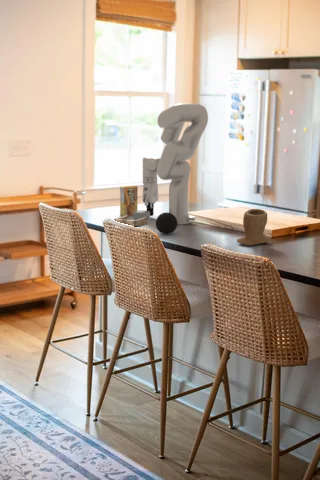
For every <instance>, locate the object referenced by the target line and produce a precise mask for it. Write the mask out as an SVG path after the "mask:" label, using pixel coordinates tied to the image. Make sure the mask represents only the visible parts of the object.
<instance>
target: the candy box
mask: <svg viewBox="0 0 320 480" xmlns="http://www.w3.org/2000/svg"><path fill="white" fill-rule="evenodd" d="M119 195H120V196H119V197H120V199H119V201H120V202H119V203H120V205H119V206H120V207H119V208H120V210H119V213H120V214H119V215H120V216H122V215H123V216H127V215H128V216H133V213H134V212H137V211H138V186H137V185H127V186H126V185H125V186H119ZM123 216H122V217H123Z"/></svg>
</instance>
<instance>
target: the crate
mask: <svg viewBox="0 0 320 480" xmlns="http://www.w3.org/2000/svg"><path fill="white" fill-rule="evenodd" d="M144 217H147V222H148V221H150V220H151V216H150V211H147V210H137V212H134V213H133V215H132V219H133V220H138V219H141V218H144Z"/></svg>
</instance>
